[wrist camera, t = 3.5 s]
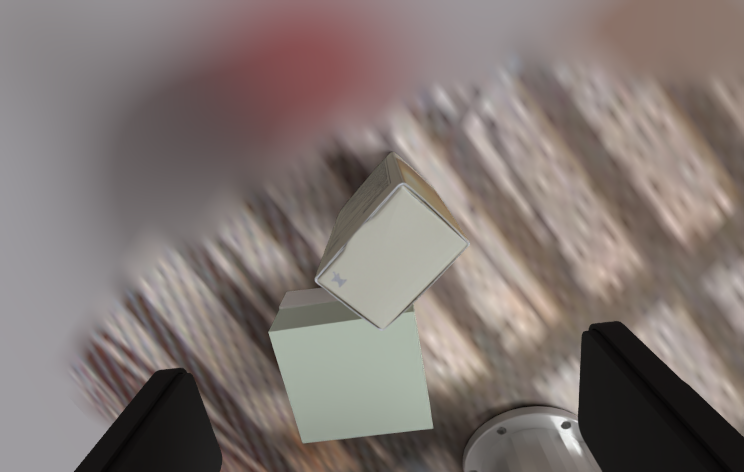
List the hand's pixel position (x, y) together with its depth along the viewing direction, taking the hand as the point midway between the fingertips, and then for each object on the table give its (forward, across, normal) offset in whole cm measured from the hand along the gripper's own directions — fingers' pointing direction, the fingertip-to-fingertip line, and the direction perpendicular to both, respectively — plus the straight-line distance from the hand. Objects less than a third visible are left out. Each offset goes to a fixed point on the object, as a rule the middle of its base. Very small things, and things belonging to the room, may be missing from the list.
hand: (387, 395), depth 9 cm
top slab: (+18, +4, +12) cm, 22 cm away
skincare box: (+21, 0, 0) cm, 21 cm away
